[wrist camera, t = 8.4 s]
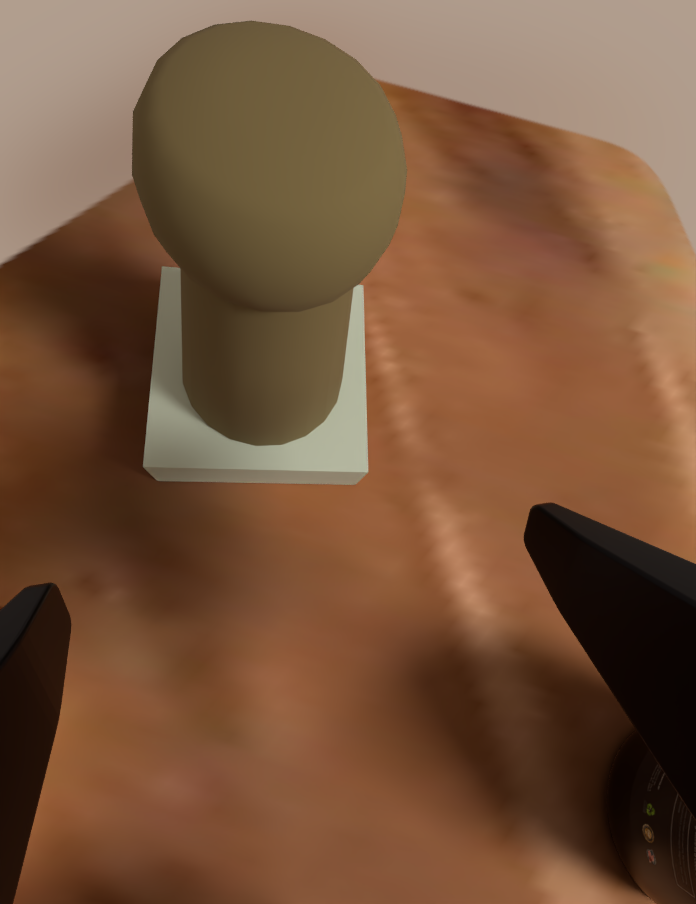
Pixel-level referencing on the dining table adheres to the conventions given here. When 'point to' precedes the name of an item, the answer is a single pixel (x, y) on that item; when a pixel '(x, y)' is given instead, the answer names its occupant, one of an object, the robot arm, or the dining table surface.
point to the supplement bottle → (651, 826)
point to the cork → (266, 215)
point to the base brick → (224, 460)
